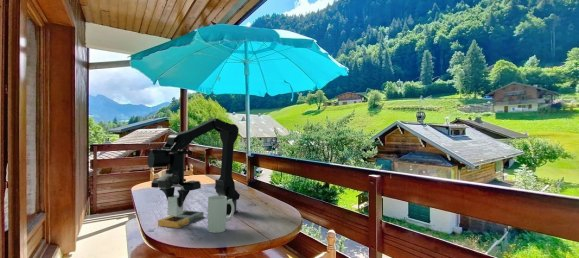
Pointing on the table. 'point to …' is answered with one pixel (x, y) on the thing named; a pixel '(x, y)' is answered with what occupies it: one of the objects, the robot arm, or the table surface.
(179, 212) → the peg
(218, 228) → the mug
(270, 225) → the table surface
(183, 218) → the shallow compartment tray
